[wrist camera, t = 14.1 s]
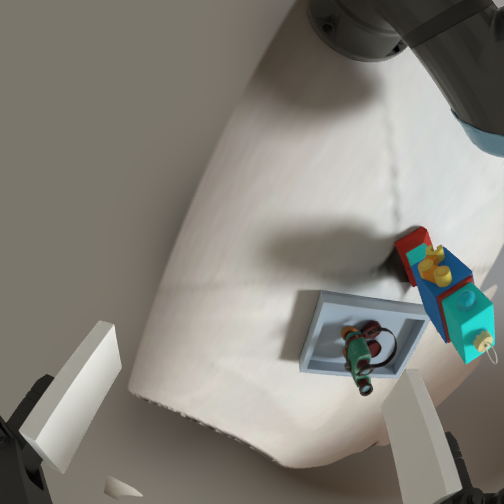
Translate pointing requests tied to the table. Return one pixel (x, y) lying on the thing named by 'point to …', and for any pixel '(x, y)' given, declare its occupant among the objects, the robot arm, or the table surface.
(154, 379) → the table surface
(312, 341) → the light blue rectangular tray
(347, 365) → the binoculars
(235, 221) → the table surface
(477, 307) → the toy robot
